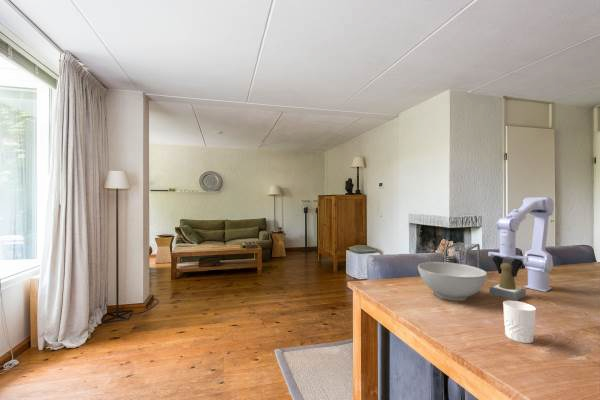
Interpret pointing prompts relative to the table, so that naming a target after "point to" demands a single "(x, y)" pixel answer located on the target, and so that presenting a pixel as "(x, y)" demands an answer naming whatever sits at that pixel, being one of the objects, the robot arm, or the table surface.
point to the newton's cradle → (463, 253)
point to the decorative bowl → (452, 279)
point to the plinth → (508, 292)
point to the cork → (507, 276)
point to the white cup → (519, 321)
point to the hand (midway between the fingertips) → (507, 274)
